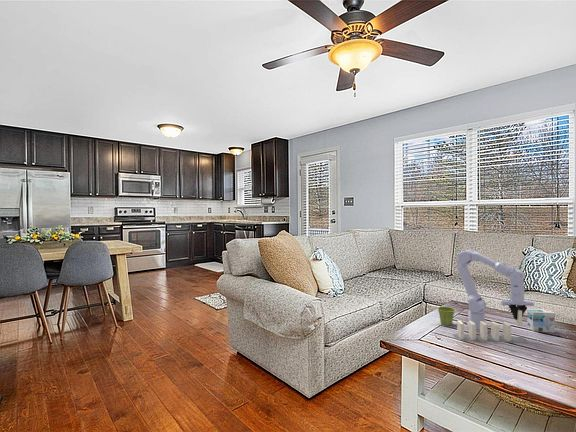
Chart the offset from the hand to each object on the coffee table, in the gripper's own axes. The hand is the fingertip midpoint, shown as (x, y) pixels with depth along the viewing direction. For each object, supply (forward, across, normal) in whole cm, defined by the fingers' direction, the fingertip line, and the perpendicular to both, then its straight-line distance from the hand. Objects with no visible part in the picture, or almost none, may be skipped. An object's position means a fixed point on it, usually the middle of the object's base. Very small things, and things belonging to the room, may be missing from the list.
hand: (517, 319), depth 166 cm
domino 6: (+3, 0, 0) cm, 3 cm away
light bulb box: (+10, +17, +12) cm, 23 cm away
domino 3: (+9, -18, -4) cm, 21 cm away
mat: (+9, -15, -4) cm, 18 cm away
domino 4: (+9, -12, -4) cm, 16 cm away
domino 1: (+9, -29, -4) cm, 31 cm away
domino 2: (+9, -24, -4) cm, 25 cm away
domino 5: (+9, -7, -4) cm, 12 cm away
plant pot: (+10, -30, +17) cm, 36 cm away
